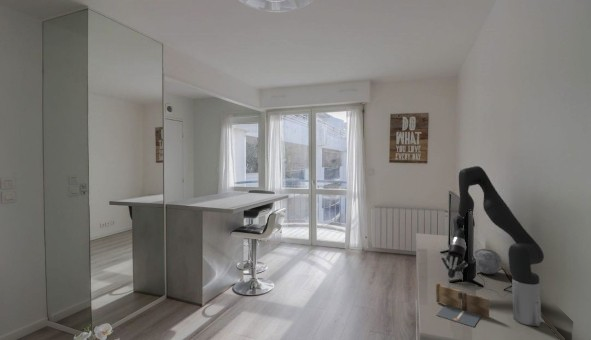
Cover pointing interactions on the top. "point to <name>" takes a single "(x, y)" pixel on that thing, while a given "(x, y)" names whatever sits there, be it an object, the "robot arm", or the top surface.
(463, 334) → the top surface
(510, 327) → the top surface
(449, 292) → the fence gate
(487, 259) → the decorative orb
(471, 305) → the fence fixed
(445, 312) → the board
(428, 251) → the top surface
